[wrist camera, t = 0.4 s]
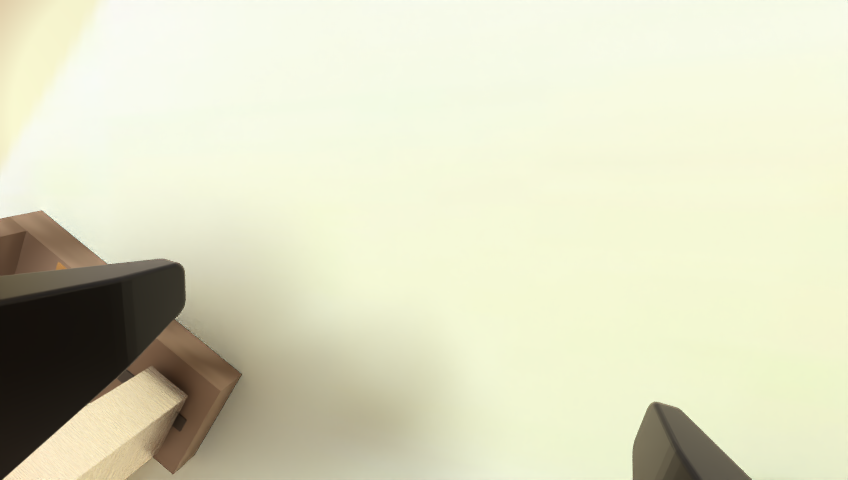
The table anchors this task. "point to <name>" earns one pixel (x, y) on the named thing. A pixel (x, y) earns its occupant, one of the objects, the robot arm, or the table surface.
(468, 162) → the table surface
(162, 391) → the fader tab
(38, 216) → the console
